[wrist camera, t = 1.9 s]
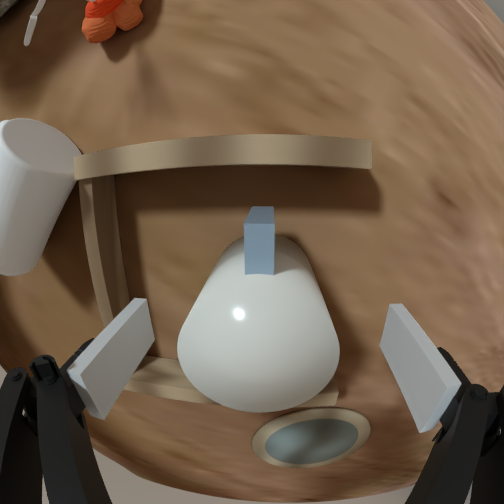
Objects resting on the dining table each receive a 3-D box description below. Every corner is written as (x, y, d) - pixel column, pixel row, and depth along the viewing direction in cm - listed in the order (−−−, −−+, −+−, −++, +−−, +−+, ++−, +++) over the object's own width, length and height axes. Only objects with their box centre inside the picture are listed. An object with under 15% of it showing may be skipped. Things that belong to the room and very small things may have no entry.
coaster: (252, 466, 28) (252, 468, 27) (251, 408, 24) (251, 411, 23) (353, 460, 27) (353, 463, 26) (384, 400, 23) (385, 403, 22)
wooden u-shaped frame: (136, 365, 23) (122, 388, 20) (101, 156, 17) (73, 156, 14) (328, 377, 22) (335, 405, 18) (353, 145, 16) (371, 140, 13)
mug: (102, 172, 18) (27, 181, 10) (55, 258, 20) (-4, 292, 13) (38, 100, 16) (-23, 93, 8) (2, 182, 18) (-52, 194, 11)
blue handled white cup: (218, 320, 21) (189, 406, 12) (211, 201, 18) (159, 232, 9) (308, 322, 20) (326, 411, 12) (316, 202, 18) (358, 234, 9)
